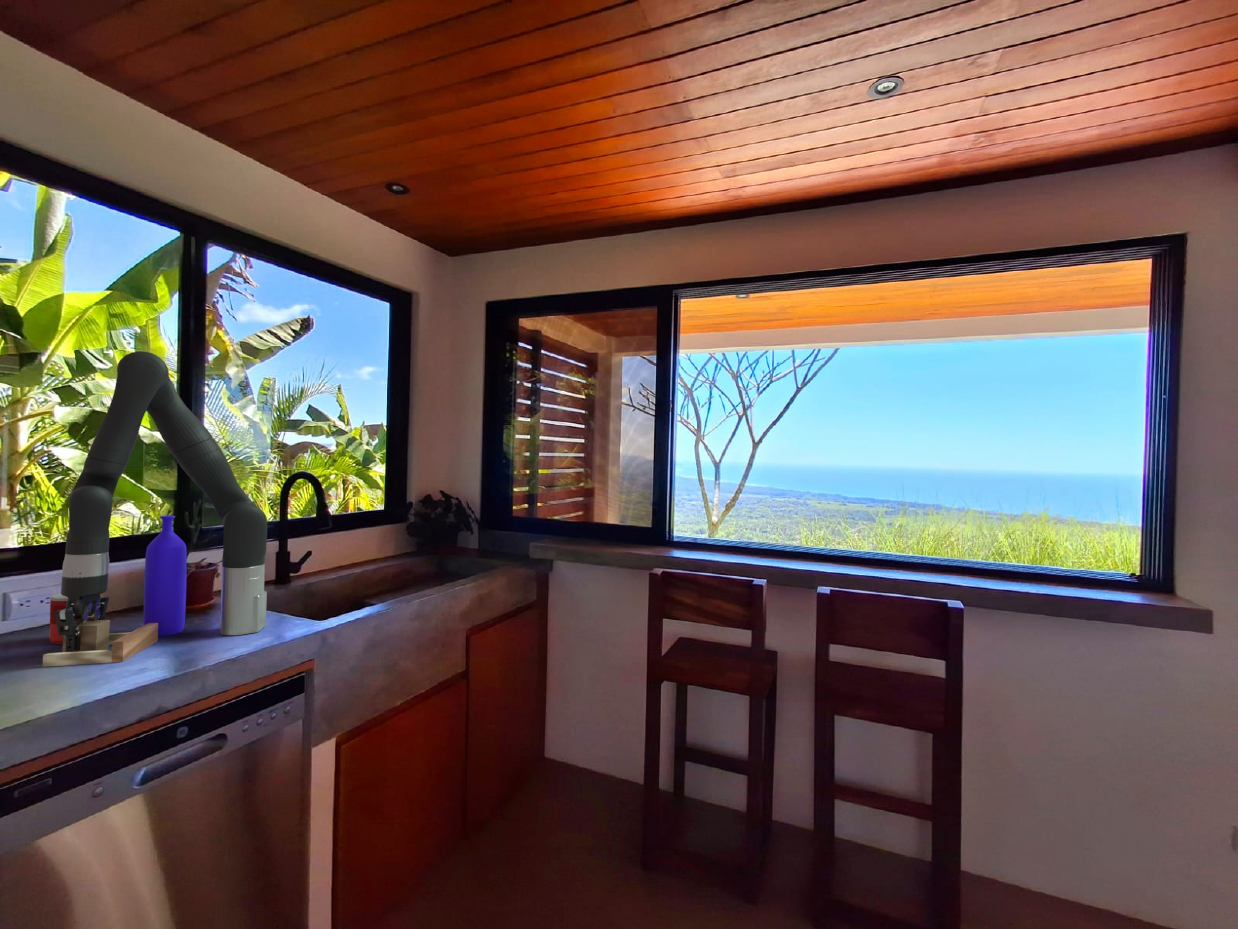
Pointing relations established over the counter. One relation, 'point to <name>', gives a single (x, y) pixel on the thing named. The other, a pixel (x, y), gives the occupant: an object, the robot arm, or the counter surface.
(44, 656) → the channel
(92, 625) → the block
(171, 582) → the bottle
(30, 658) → the counter surface
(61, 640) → the canned food
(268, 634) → the counter surface
